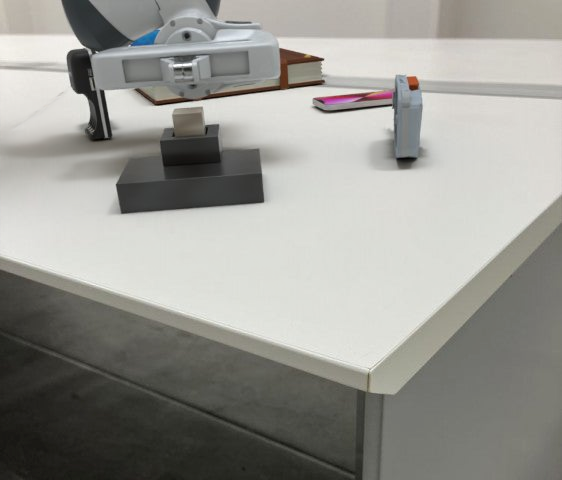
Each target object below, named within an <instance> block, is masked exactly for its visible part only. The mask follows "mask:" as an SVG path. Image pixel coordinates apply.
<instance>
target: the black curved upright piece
mask: <svg viewBox="0 0 562 480" xmlns="http://www.w3.org/2000/svg"><path fill="white" fill-rule="evenodd" d="M96 53H97V52H96V51H93V50H91V49H89V48H86V47H82V48H74V49H71V50H69V51H68V52H67V54H66V58H65V59H66V67H67V72H68V78H69V83H70V87H71V88H72V91H74V93H75V94H76V95H84V96H85V98H86V99H87V102H88V103H87V104H88V108H89V120H88V124H87V126H86V127H85V128H84V132H85V135H86V136H87V137H88V139H90V140H93V139H95V140H102V139H101V138H104V139H105V138H108V139H109V137H110V138H112V137H113V132H112V126H111V121H110V116H109V110H108V109H109V108H108V104H107V99H106V97H107V96H106V92H105V90H100V89H98V88H97V86H96V83H95V78H94V74H93V68H92V60H91V59H92V56H93V55H94V54H96Z"/></svg>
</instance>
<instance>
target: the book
mask: <svg viewBox="0 0 562 480" xmlns="http://www.w3.org/2000/svg"><path fill="white" fill-rule="evenodd" d="M279 53H280V76H279V77H278V78H276V79H266V80H265V81H264V82H262V83H255V84H251V85H243V86H238V87H231V88H228V89H225V90H222V91H220V92H217V93H211V94H209V95H208V96H205V97H202V98H197V99H188V98H183V97H180V96H178V95H176V94H174V93H172V92H171V91H170V90H168V89H167V88H166V87H165V86H163V87H149V88H135V89H134V90H136V91H137V92H139V93H140V95H143V96H144V97H145V98H146V99H148V100H149V101H151V102H152V103H153V104H155V105H160V104H169V103H176V102H183V101H194V102H195V101H202V100H203V99H208V98H216V97H224V96H231V95H239V94H247V93H248V94H249V93H254V92H263V91H271V90H277V89H278V90H288V89H290V88H293V87H301V86H309V85H310V86H311V85H316V84H317V85H318V84H324V83H326V81H325V79H323V75H322V74H323V71H322V70H323V67H322V66H323V63H322V62H324V61H325V58H324V57H319V56H316V55H313V54H308V53H303V52H300V51H294V50H291V49H287V48H283V47H279Z"/></svg>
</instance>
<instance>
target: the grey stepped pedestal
mask: <svg viewBox="0 0 562 480" xmlns="http://www.w3.org/2000/svg"><path fill="white" fill-rule="evenodd" d="M205 128H206V133H205V135H191V136H178V137H175V133H174V126H173V127H164V128H163V132H162V134H161V136H160V139H159V140H158V141H159V147H160V155H155V156H142V157H140V156H139V157H130V158H129V159H128V161H127V163H126V165H125V167H124V168H123V170H122V171H121V174H120V175H119V177H118V179H117V181H116V182H115V189H116V194H117V198H118V204H119V210H120V213H121V214H133V213H147V212H159V211H171V210H172V211H173V210H183V209H196V208H197V209H199V208H210V207H224V206H225V207H226V206H236V205H237V206H238V205H248V204H250V205H251V204H261V203H265V194H264V181H263V180H264V179H263V170H262V160H261V152H260V151H261V150H260V148H247V149H235V150H233V149H232V150H223V144H222V135H221V126H220V124H219V123H213V124H205Z"/></svg>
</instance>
